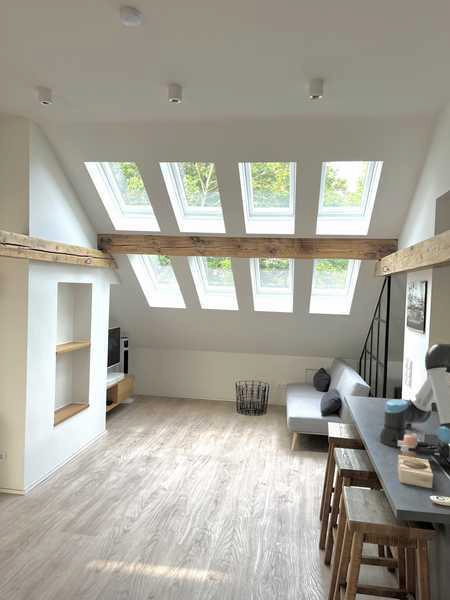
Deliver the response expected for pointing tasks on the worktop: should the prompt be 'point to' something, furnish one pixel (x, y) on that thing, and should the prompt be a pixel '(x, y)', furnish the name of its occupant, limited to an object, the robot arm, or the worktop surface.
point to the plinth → (414, 471)
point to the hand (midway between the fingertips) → (399, 445)
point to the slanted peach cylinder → (410, 444)
